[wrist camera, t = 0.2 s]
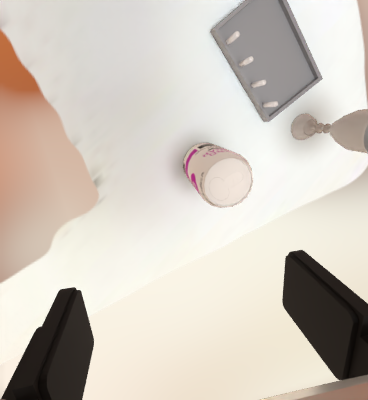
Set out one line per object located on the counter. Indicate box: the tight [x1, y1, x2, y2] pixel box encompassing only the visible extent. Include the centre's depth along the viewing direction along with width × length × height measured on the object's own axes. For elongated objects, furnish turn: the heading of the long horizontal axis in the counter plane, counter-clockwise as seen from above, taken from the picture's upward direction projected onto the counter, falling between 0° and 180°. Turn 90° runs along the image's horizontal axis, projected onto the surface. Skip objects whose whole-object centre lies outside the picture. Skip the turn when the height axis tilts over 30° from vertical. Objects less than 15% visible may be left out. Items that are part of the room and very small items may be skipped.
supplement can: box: [183, 143, 253, 208], centre depth 40 cm, size 8×8×15 cm
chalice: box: [291, 109, 368, 153], centre depth 40 cm, size 7×7×18 cm
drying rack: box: [211, 0, 323, 122], centre depth 40 cm, size 18×12×6 cm, turn 38°
